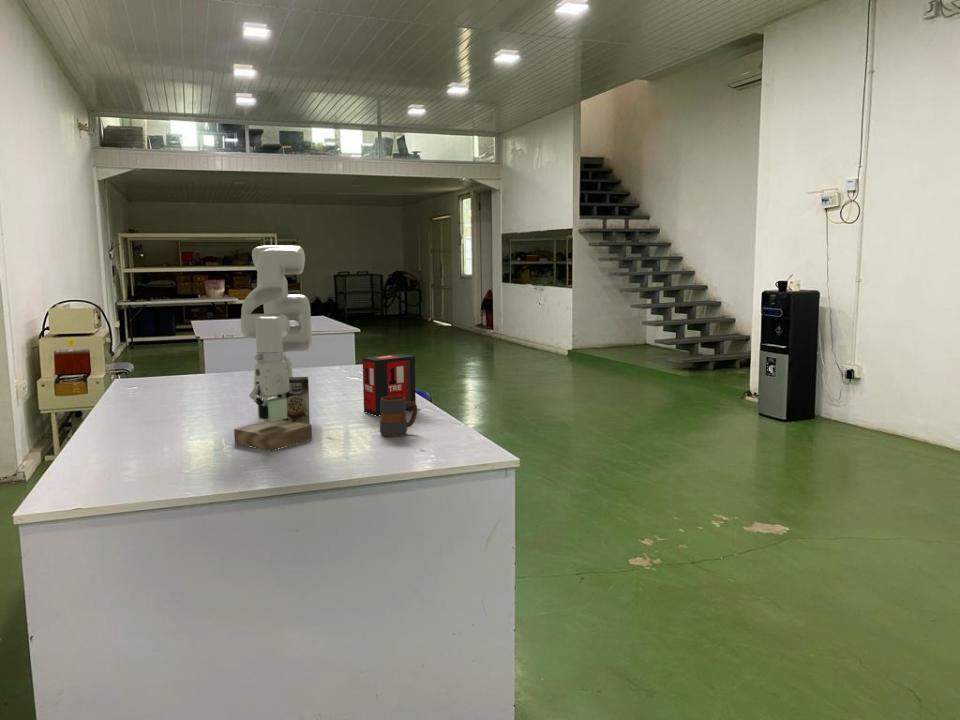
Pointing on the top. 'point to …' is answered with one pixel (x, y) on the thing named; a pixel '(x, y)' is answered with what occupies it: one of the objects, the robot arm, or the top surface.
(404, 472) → the top surface
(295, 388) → the coffee box
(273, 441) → the walnut block
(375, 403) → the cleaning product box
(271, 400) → the sage cube
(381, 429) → the mug
